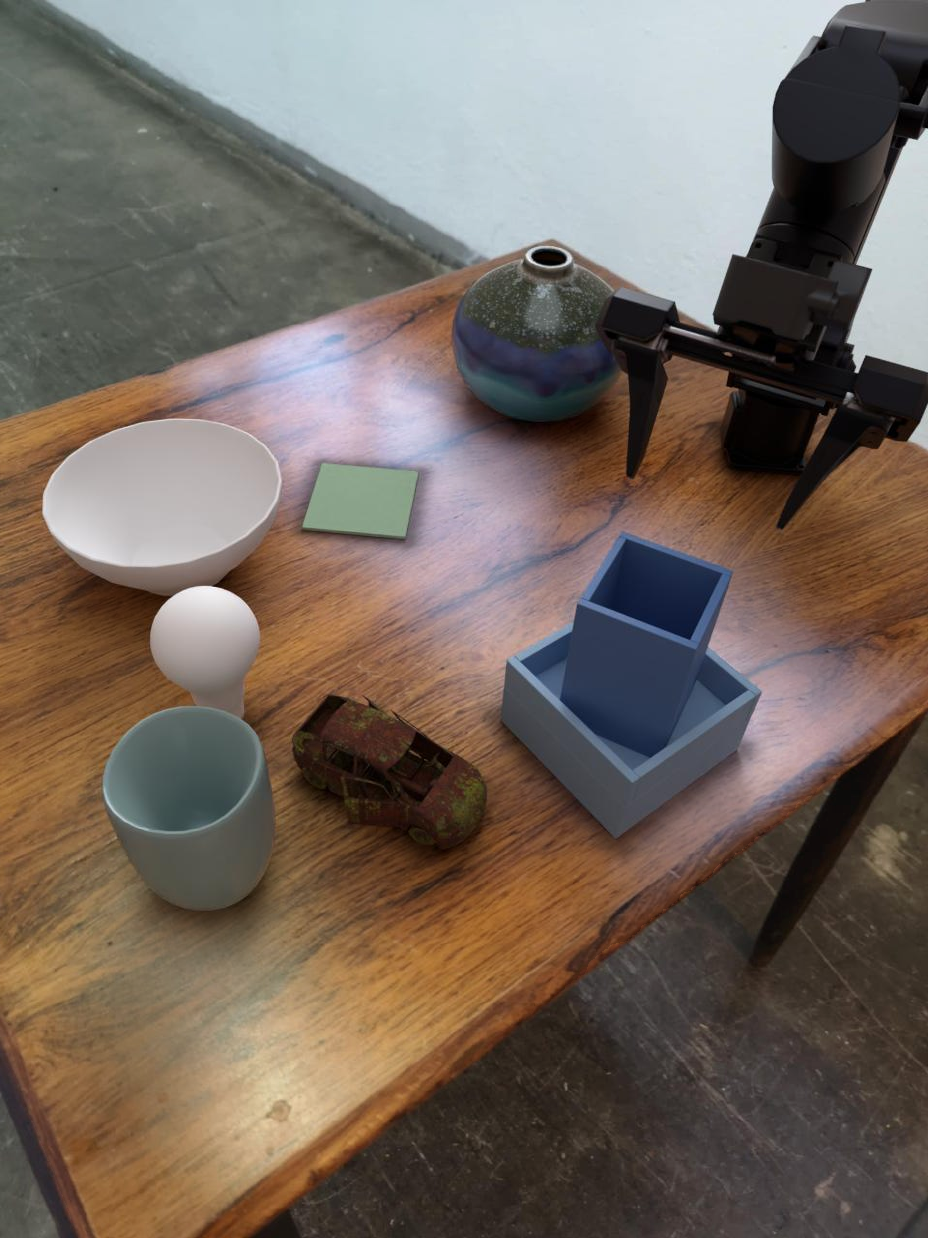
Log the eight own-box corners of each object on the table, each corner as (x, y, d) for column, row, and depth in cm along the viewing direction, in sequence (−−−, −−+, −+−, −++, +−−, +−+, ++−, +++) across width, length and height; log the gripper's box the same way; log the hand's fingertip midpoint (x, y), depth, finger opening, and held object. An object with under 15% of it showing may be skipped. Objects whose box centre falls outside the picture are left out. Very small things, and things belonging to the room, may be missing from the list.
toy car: (272, 791, 58) (262, 743, 54) (338, 711, 62) (333, 662, 58) (444, 884, 54) (446, 840, 50) (502, 793, 58) (508, 746, 54)
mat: (418, 474, 79) (418, 471, 78) (405, 539, 73) (405, 536, 73) (322, 465, 79) (322, 462, 79) (302, 529, 73) (301, 527, 73)
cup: (256, 946, 51) (229, 852, 44) (119, 916, 52) (70, 819, 44) (302, 821, 56) (285, 718, 49) (176, 795, 57) (141, 691, 50)
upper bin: (597, 646, 62) (621, 530, 54) (694, 685, 60) (733, 570, 53) (556, 717, 58) (576, 603, 50) (659, 762, 56) (696, 649, 48)
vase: (416, 409, 85) (416, 266, 75) (503, 333, 94) (513, 197, 84) (570, 470, 80) (592, 326, 70) (646, 384, 89) (675, 246, 79)
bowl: (21, 599, 67) (-12, 524, 62) (153, 470, 78) (134, 397, 72) (217, 670, 64) (200, 596, 59) (329, 524, 74) (322, 451, 69)
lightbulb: (290, 699, 62) (272, 580, 54) (246, 773, 58) (219, 656, 50) (207, 673, 63) (176, 553, 55) (158, 744, 59) (117, 625, 51)
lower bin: (619, 646, 67) (634, 585, 62) (737, 749, 61) (762, 691, 56) (499, 719, 62) (506, 659, 57) (615, 839, 56) (632, 783, 52)
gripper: (633, 141, 50) (527, 424, 51) (1007, 228, 45) (878, 542, 46) (656, 230, 61) (567, 462, 62) (961, 308, 55) (856, 561, 57)
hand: (702, 502), depth 56 cm, fingers open, 9 cm apart
